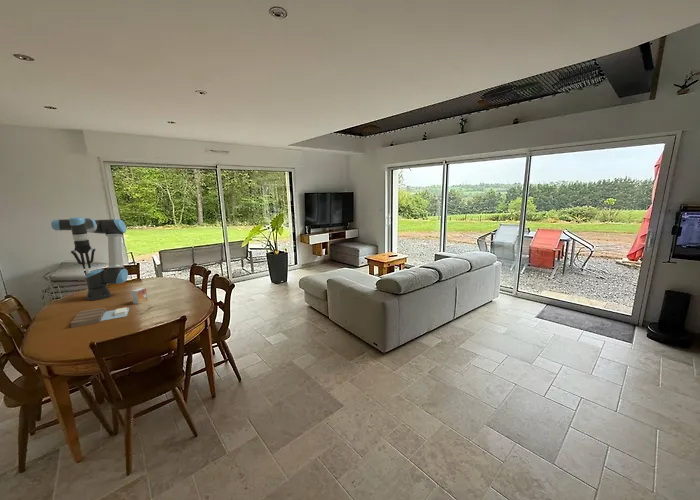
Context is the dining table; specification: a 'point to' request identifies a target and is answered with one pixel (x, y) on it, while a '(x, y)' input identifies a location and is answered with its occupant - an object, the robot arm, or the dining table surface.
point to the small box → (139, 295)
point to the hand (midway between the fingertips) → (88, 272)
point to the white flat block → (120, 311)
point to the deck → (88, 317)
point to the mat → (112, 315)
